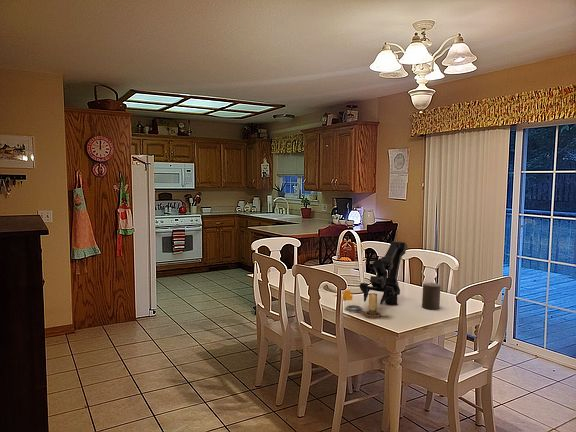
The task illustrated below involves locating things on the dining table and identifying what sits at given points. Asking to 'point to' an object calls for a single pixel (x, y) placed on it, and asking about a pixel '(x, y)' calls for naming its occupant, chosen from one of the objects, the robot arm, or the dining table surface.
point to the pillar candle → (431, 296)
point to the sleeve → (372, 304)
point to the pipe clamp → (347, 295)
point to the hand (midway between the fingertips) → (372, 302)
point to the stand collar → (372, 315)
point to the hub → (359, 309)
